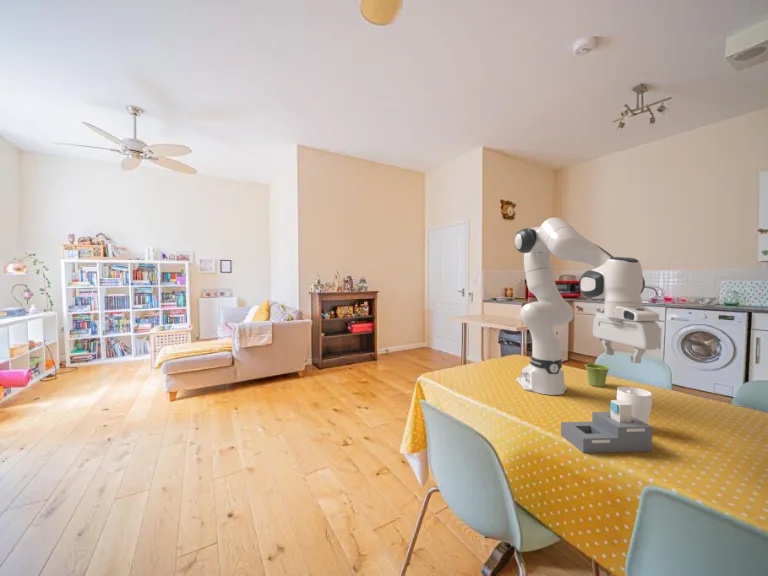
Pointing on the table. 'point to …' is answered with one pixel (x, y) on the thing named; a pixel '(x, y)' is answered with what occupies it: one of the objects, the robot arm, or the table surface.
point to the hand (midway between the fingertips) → (621, 358)
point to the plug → (621, 411)
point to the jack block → (608, 434)
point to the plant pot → (597, 374)
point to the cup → (636, 401)
